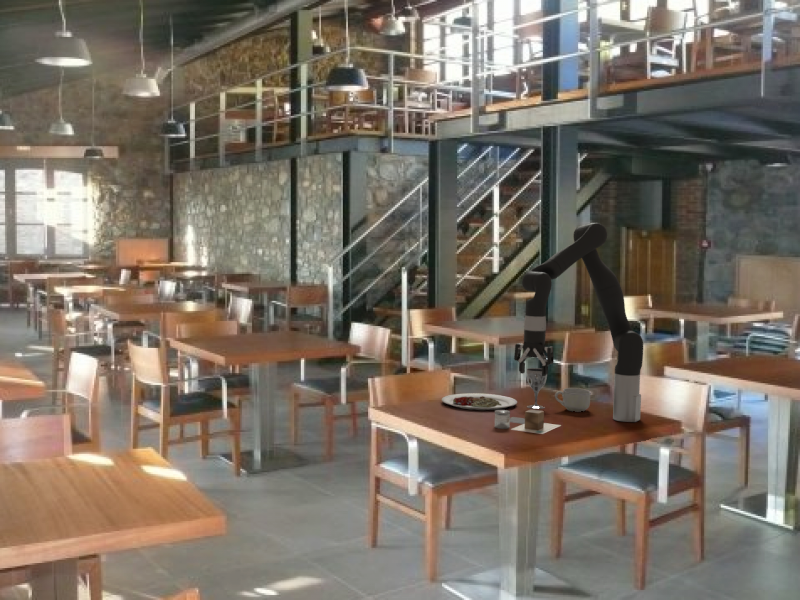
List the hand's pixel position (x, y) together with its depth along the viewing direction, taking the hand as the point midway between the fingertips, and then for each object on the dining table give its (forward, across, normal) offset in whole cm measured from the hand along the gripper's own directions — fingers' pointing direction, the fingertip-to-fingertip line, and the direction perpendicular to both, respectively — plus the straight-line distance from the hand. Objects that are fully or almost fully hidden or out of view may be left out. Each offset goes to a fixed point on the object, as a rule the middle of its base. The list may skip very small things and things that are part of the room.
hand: (533, 374), depth 320 cm
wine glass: (+19, +16, -35) cm, 43 cm away
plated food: (+20, +37, -26) cm, 49 cm away
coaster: (+19, +8, -7) cm, 22 cm away
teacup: (+19, +3, -39) cm, 44 cm away
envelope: (+19, -2, 0) cm, 19 cm away
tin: (+19, +8, +7) cm, 22 cm away
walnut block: (+19, -2, +2) cm, 19 cm away
